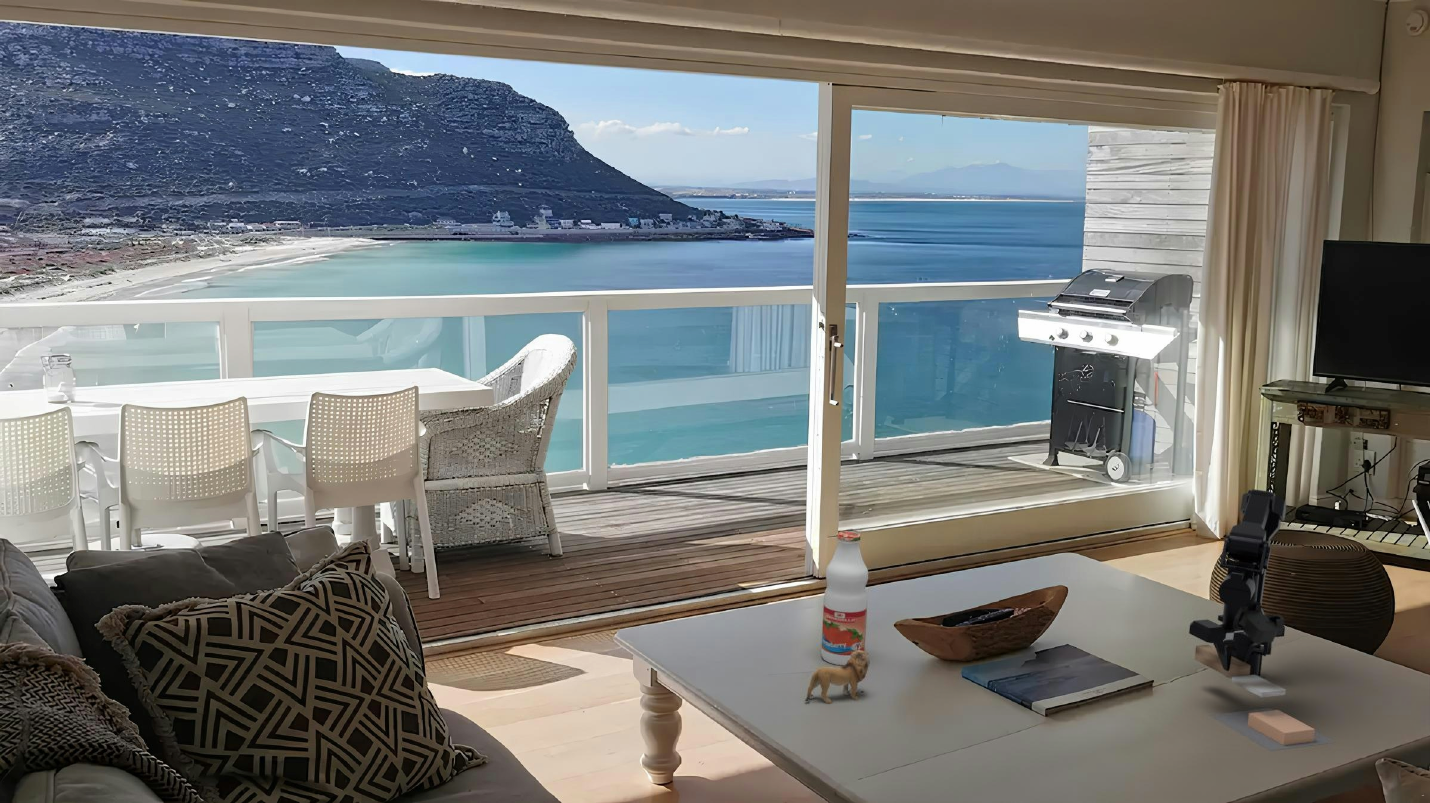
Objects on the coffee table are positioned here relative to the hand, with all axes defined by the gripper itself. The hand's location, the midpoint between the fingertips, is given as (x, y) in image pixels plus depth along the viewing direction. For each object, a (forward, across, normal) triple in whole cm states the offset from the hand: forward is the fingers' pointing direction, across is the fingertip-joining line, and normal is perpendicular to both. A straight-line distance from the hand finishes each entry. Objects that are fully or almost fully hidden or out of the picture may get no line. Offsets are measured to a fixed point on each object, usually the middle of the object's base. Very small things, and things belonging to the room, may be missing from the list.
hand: (1232, 669), depth 231 cm
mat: (+8, 0, -11) cm, 14 cm away
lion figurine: (+8, -76, +23) cm, 79 cm away
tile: (+6, 0, -9) cm, 11 cm away
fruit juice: (+8, -66, +42) cm, 79 cm away
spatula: (+1, 0, -1) cm, 1 cm away
